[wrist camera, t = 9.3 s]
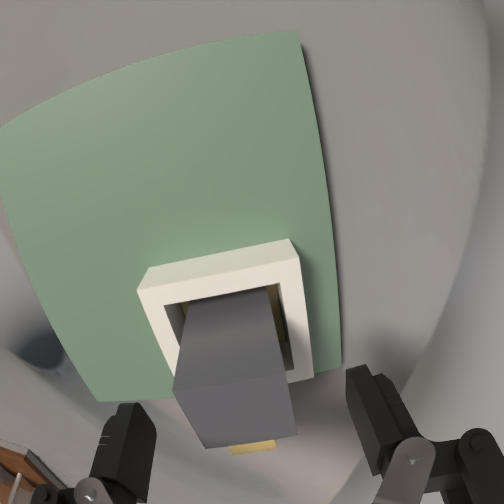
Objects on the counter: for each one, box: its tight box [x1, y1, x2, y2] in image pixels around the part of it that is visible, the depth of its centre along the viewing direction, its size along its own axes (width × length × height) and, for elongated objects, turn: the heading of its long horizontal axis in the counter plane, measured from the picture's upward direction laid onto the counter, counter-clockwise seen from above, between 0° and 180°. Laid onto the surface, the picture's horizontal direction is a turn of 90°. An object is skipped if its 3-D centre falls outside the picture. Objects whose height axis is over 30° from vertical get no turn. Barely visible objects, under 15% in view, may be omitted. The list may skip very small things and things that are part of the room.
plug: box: [172, 286, 298, 455], centre depth 14 cm, size 5×4×7 cm
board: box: [0, 30, 342, 402], centre depth 15 cm, size 20×18×4 cm
